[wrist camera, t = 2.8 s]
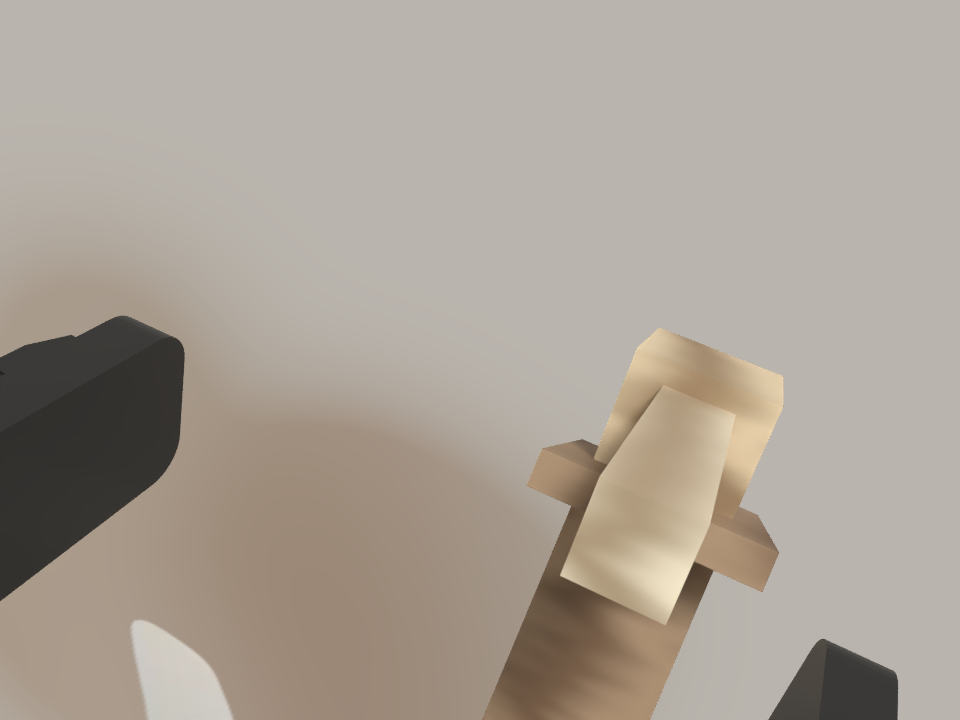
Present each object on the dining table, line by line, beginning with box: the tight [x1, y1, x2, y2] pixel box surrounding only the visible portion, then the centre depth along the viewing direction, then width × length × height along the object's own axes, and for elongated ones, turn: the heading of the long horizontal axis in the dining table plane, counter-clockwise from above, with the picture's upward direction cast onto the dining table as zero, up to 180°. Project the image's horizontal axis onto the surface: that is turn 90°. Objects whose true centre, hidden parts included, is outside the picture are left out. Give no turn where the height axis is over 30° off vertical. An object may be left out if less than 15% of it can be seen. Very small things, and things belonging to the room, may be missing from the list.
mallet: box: [560, 328, 783, 626], centre depth 33 cm, size 6×20×5 cm, turn 165°
